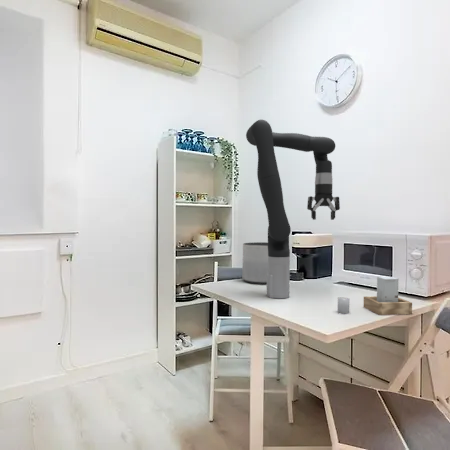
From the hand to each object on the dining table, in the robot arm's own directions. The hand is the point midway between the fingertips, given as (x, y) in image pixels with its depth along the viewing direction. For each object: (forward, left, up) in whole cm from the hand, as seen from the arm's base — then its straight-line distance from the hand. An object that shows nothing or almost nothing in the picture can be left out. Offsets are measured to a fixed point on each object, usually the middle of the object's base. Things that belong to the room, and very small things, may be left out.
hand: (323, 219), depth 152 cm
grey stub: (-5, -32, -33) cm, 46 cm away
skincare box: (+12, -31, -33) cm, 47 cm away
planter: (-21, +30, -33) cm, 50 cm away
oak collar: (+12, -31, -33) cm, 47 cm away
